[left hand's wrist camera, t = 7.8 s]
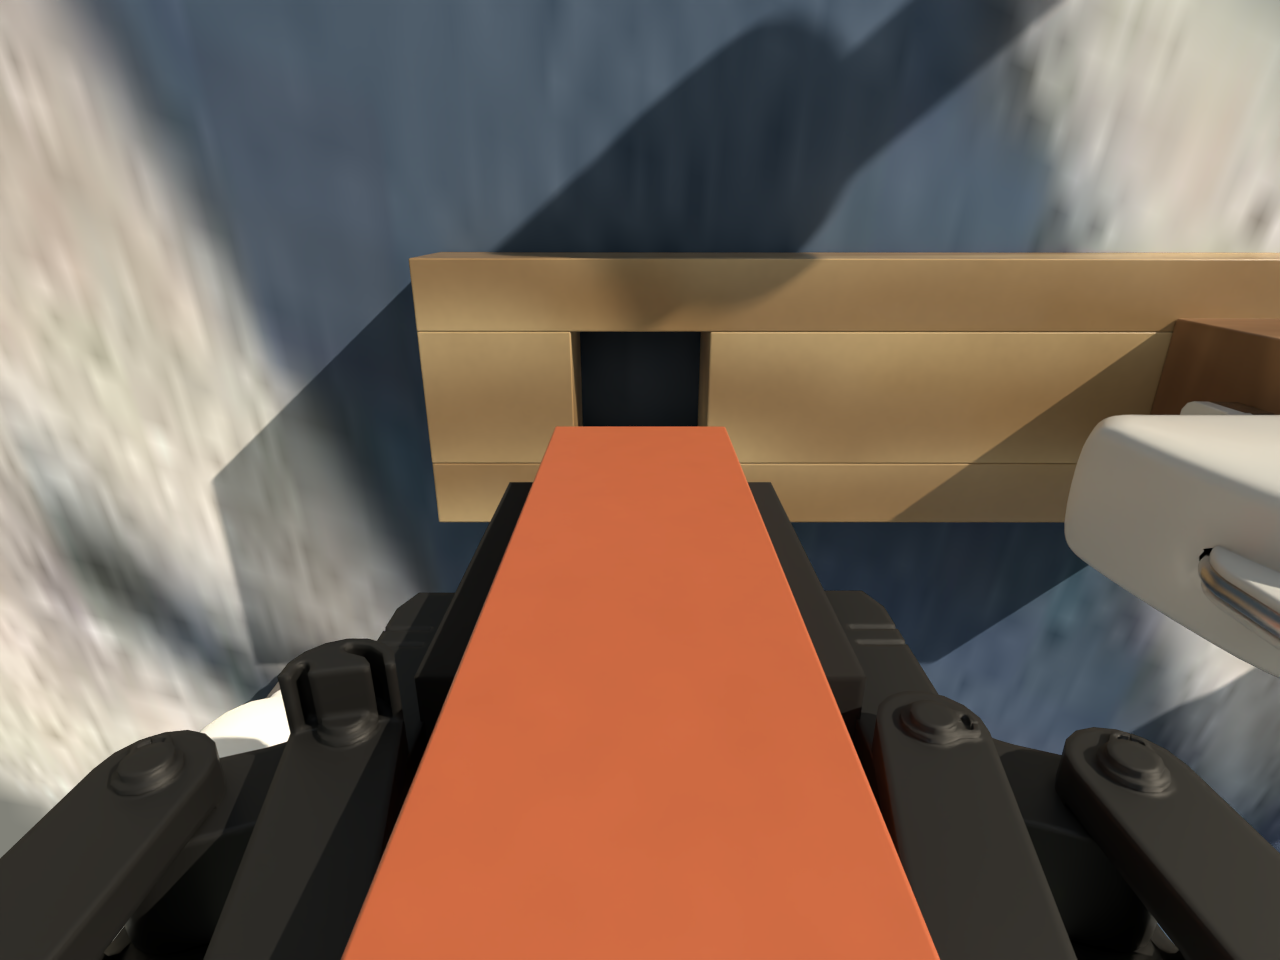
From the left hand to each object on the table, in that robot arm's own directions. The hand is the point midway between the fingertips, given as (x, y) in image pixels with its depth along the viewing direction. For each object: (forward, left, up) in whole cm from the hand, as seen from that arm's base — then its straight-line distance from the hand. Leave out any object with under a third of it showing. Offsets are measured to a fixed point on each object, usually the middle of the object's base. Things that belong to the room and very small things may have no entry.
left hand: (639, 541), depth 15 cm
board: (0, +9, -16) cm, 18 cm away
